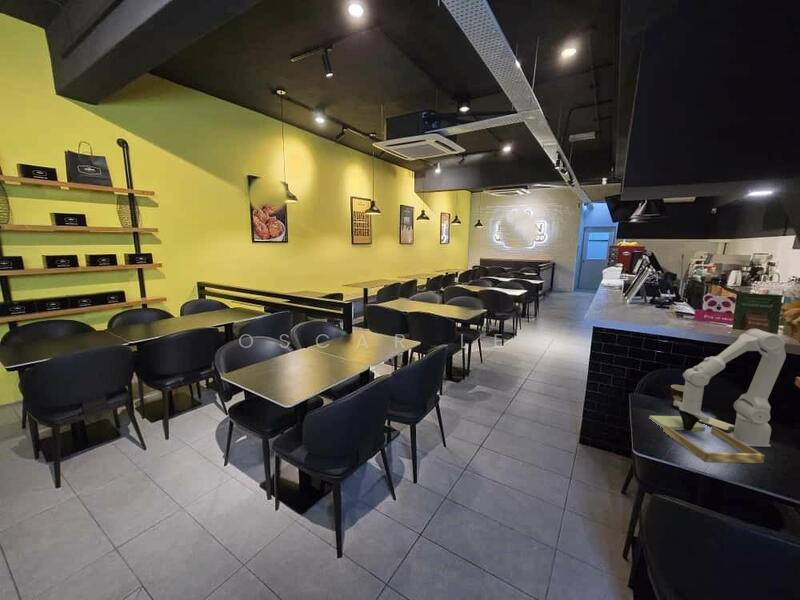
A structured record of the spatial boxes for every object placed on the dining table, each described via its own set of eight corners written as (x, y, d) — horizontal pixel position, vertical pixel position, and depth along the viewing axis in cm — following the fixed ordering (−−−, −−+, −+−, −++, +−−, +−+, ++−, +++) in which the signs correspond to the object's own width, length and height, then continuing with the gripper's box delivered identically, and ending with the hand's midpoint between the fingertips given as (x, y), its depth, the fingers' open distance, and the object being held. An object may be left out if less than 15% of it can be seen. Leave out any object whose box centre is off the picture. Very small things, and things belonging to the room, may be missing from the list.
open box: (713, 433, 133) (714, 426, 132) (763, 463, 114) (764, 455, 113) (663, 432, 133) (664, 425, 133) (705, 461, 114) (706, 453, 114)
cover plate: (685, 421, 143) (686, 416, 143) (704, 432, 134) (705, 427, 134) (648, 420, 143) (649, 415, 143) (664, 432, 134) (665, 426, 134)
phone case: (679, 417, 147) (727, 434, 132) (680, 414, 146) (727, 430, 132) (689, 413, 151) (736, 429, 136) (690, 410, 150) (737, 426, 136)
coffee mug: (697, 413, 149) (700, 392, 148) (678, 412, 149) (681, 392, 148) (676, 401, 161) (679, 382, 159) (658, 401, 161) (661, 382, 160)
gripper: (668, 390, 138) (663, 420, 140) (698, 406, 124) (692, 439, 126) (684, 391, 138) (680, 420, 140) (716, 407, 124) (711, 440, 126)
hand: (687, 429), depth 133 cm, fingers closed
